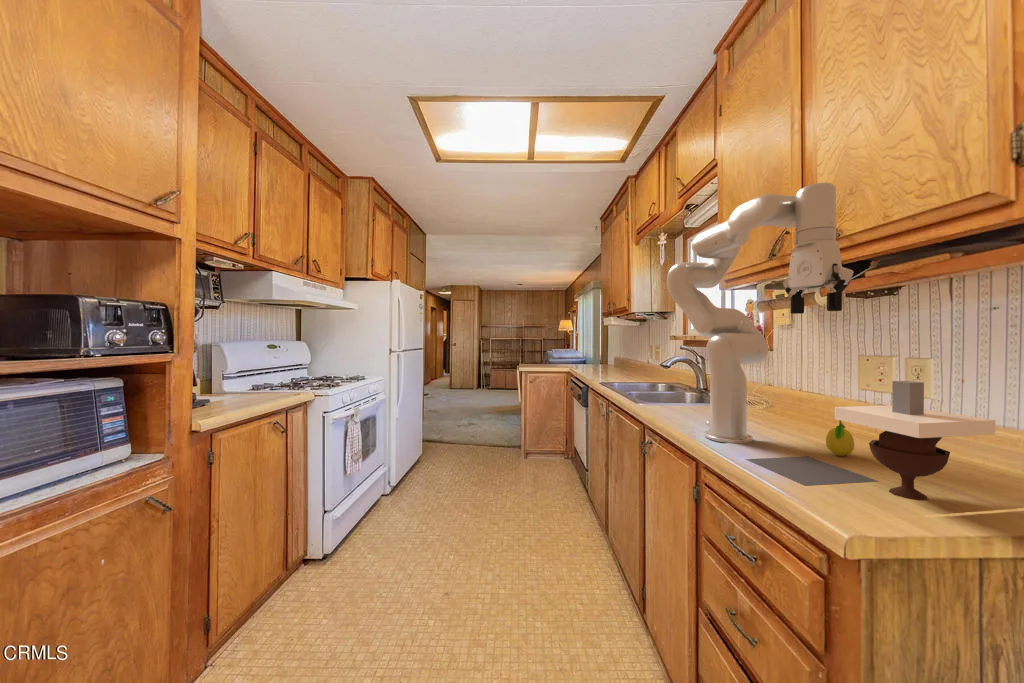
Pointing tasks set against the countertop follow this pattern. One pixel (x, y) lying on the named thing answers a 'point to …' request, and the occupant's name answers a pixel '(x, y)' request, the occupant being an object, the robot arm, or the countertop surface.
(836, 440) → the lemon
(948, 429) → the lid
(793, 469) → the mat
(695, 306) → the robot arm
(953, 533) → the countertop surface
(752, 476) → the countertop surface
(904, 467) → the ice cream bowl
